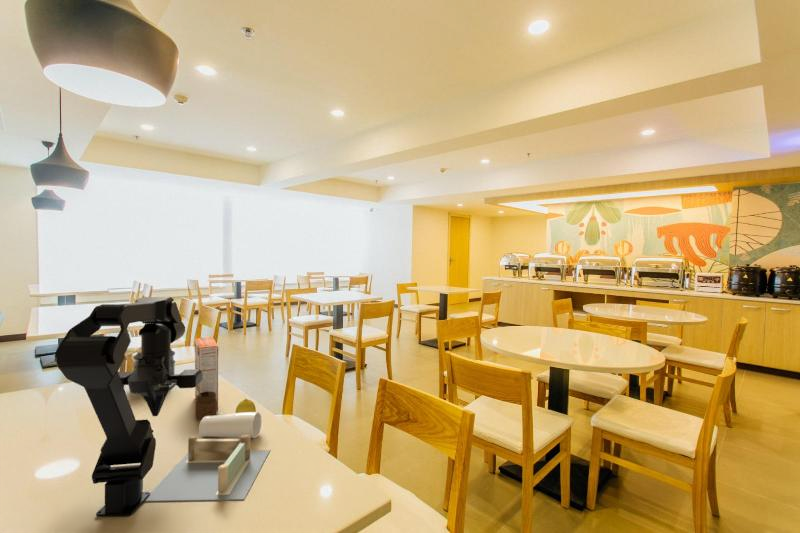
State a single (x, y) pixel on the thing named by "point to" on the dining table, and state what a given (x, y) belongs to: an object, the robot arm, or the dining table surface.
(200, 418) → the utensil holder
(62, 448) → the dining table surface
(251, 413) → the white tumbler
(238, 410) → the lemon
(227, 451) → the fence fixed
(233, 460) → the fence panel
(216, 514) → the dining table surface
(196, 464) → the card
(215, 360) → the cracker box
